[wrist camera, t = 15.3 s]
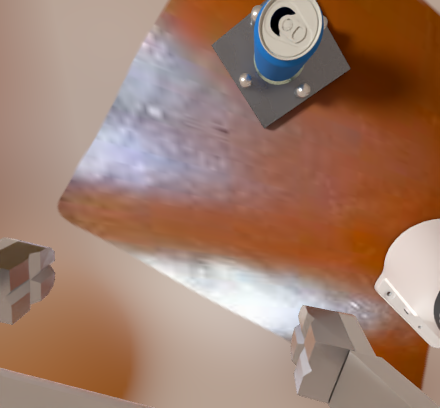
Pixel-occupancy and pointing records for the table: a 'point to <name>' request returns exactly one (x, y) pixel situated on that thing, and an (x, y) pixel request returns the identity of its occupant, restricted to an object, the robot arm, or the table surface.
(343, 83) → the table surface
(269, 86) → the plate
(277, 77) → the beverage can
